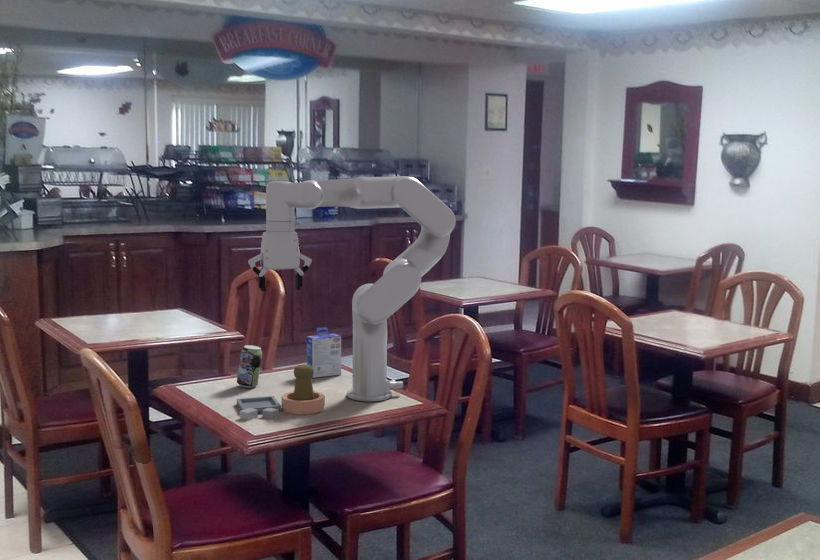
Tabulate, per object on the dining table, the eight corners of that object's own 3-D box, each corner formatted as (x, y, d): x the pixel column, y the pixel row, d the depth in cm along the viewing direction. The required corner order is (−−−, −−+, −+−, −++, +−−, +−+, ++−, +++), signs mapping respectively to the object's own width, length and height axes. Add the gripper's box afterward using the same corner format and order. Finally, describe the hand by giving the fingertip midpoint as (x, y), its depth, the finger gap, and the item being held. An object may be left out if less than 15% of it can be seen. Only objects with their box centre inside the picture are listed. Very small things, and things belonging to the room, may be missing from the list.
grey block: (278, 416, 223) (278, 409, 223) (272, 419, 221) (272, 411, 220) (268, 415, 225) (268, 407, 224) (262, 417, 222) (262, 410, 222)
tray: (273, 401, 236) (273, 395, 236) (281, 411, 227) (281, 405, 227) (236, 404, 233) (236, 398, 233) (242, 414, 224) (242, 409, 223)
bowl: (318, 401, 237) (318, 389, 236) (328, 412, 226) (328, 399, 226) (278, 404, 233) (278, 392, 232) (287, 416, 223) (287, 403, 222)
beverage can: (234, 385, 252) (234, 344, 251) (259, 382, 255) (258, 342, 254) (239, 390, 247) (239, 349, 245) (265, 388, 250) (264, 347, 248)
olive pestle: (306, 410, 226) (306, 369, 224) (287, 406, 228) (287, 366, 227) (319, 404, 231) (319, 364, 229) (301, 401, 234) (301, 361, 232)
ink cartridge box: (335, 371, 270) (335, 325, 268) (342, 375, 266) (342, 328, 264) (305, 374, 266) (305, 328, 264) (312, 378, 261) (312, 331, 259)
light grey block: (249, 415, 223) (249, 407, 223) (257, 417, 222) (257, 409, 222) (239, 419, 220) (239, 411, 220) (248, 421, 219) (247, 412, 219)
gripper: (308, 225, 239) (307, 287, 242) (245, 226, 233) (246, 289, 236) (315, 228, 233) (315, 291, 235) (251, 228, 226) (251, 293, 229)
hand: (280, 290), depth 235 cm, fingers open, 9 cm apart
